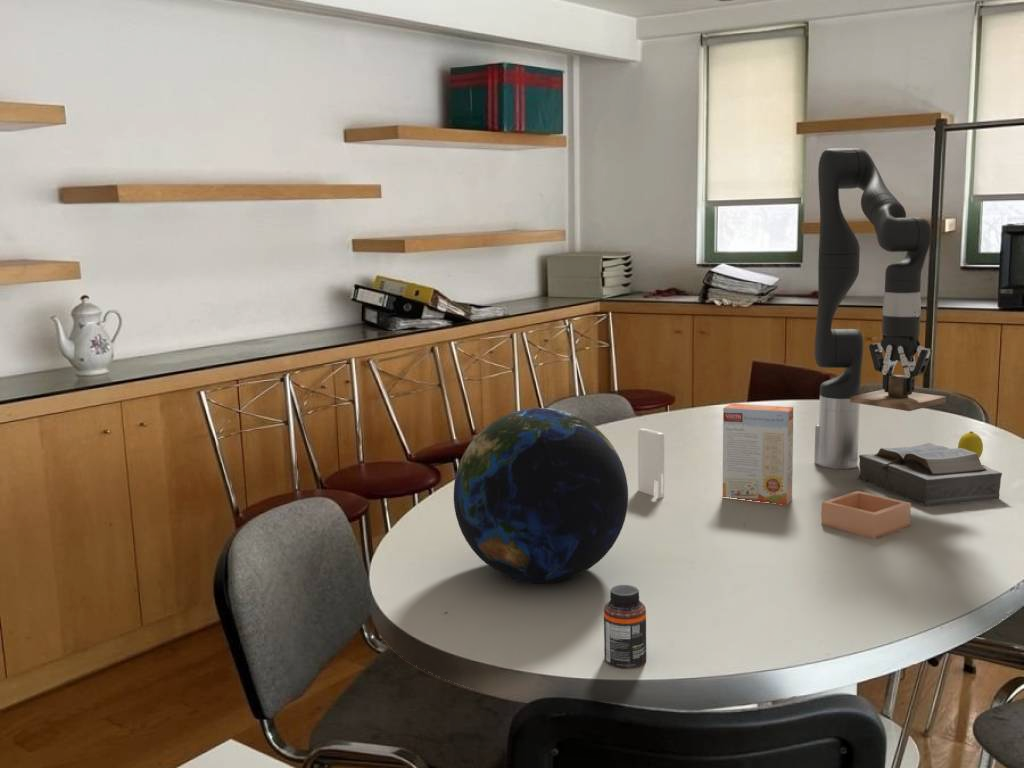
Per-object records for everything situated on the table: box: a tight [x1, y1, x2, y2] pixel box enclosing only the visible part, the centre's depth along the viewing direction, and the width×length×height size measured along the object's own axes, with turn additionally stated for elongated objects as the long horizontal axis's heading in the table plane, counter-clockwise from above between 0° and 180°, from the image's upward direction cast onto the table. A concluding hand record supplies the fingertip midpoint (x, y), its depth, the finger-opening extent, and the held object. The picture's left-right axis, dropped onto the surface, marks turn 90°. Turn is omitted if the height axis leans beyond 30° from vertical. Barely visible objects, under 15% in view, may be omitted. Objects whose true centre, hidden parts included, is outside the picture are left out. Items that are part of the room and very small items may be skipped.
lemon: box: [957, 430, 984, 459], centre depth 255 cm, size 6×6×8 cm
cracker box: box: [722, 403, 794, 506], centre depth 226 cm, size 14×6×21 cm, turn 64°
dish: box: [821, 490, 912, 540], centre depth 208 cm, size 12×12×5 cm
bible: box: [857, 442, 1003, 508], centre depth 233 cm, size 23×27×10 cm
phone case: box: [637, 428, 665, 499], centre depth 231 cm, size 7×1×15 cm, turn 33°
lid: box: [850, 374, 947, 412], centre depth 225 cm, size 14×14×6 cm
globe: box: [453, 407, 629, 584], centre depth 182 cm, size 30×30×30 cm
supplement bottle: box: [603, 584, 647, 670], centre depth 148 cm, size 6×6×11 cm
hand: (898, 392), depth 225 cm, fingers closed on lid, 4 cm apart
